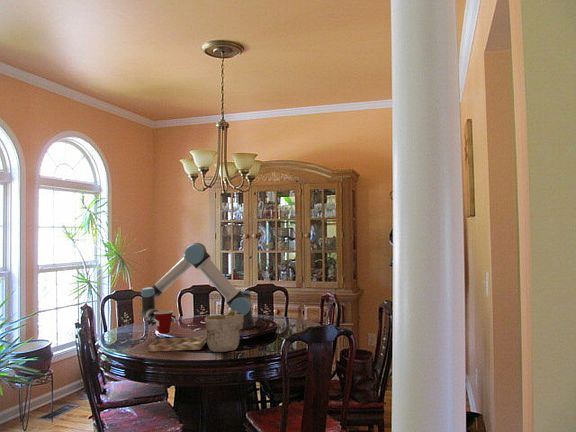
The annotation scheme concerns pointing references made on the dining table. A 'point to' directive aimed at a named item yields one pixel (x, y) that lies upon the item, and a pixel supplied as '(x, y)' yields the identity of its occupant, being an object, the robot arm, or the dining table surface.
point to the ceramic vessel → (224, 331)
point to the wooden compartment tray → (177, 344)
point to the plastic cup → (163, 321)
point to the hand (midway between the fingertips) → (166, 322)
